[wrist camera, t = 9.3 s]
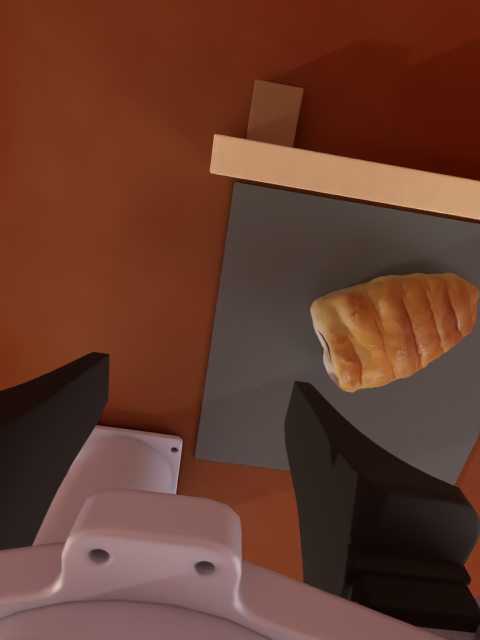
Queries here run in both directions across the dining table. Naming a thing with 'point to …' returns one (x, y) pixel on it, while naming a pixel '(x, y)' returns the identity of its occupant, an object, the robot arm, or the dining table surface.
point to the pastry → (392, 326)
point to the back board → (329, 162)
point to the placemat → (303, 343)
